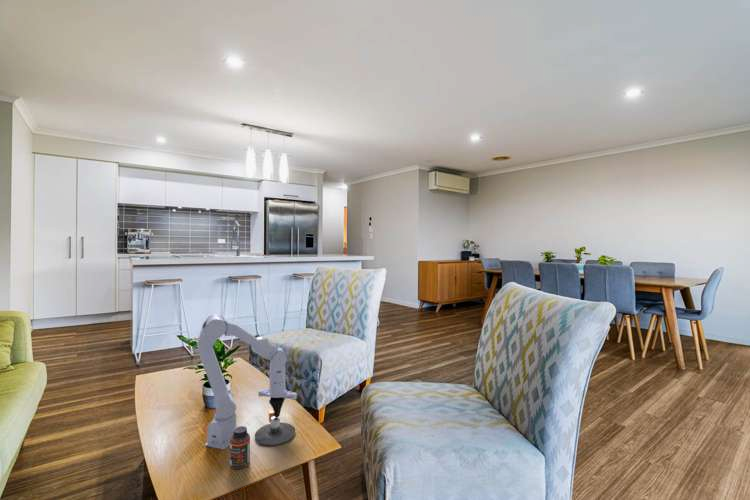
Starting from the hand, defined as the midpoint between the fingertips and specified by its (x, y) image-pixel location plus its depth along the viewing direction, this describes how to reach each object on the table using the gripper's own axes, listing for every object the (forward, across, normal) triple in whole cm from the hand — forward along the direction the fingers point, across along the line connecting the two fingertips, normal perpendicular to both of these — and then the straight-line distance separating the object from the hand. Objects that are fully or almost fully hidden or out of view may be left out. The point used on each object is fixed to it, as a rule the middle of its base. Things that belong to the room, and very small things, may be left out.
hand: (277, 416), depth 134 cm
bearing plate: (+4, -1, +5) cm, 7 cm away
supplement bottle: (+5, +2, +23) cm, 23 cm away
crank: (+3, 0, +3) cm, 4 cm away
